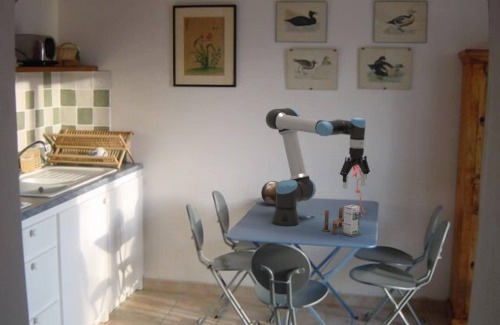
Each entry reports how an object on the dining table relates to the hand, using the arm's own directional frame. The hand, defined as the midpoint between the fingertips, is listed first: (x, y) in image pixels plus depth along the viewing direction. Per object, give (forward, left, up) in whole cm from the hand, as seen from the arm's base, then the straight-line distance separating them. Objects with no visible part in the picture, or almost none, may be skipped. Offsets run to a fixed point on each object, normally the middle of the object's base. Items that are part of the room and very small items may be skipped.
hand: (354, 187), depth 316 cm
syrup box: (+4, -5, -23) cm, 24 cm away
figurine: (-25, +29, -24) cm, 45 cm away
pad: (+4, -5, -24) cm, 25 cm away
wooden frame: (-5, -5, -24) cm, 25 cm away
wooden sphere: (-71, +6, -24) cm, 75 cm away
